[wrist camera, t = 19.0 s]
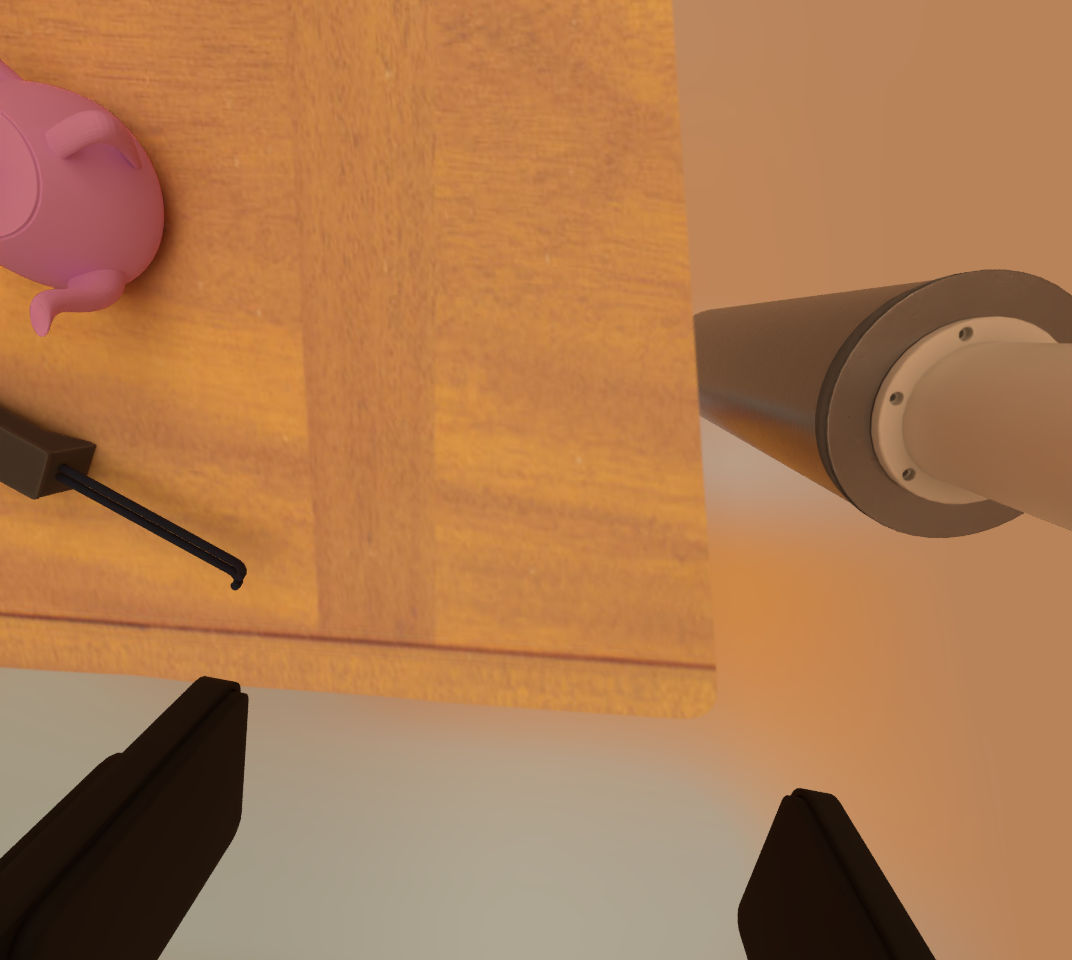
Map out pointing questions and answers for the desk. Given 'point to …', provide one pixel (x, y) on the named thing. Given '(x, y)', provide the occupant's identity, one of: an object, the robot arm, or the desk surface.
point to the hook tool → (62, 464)
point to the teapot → (72, 198)
